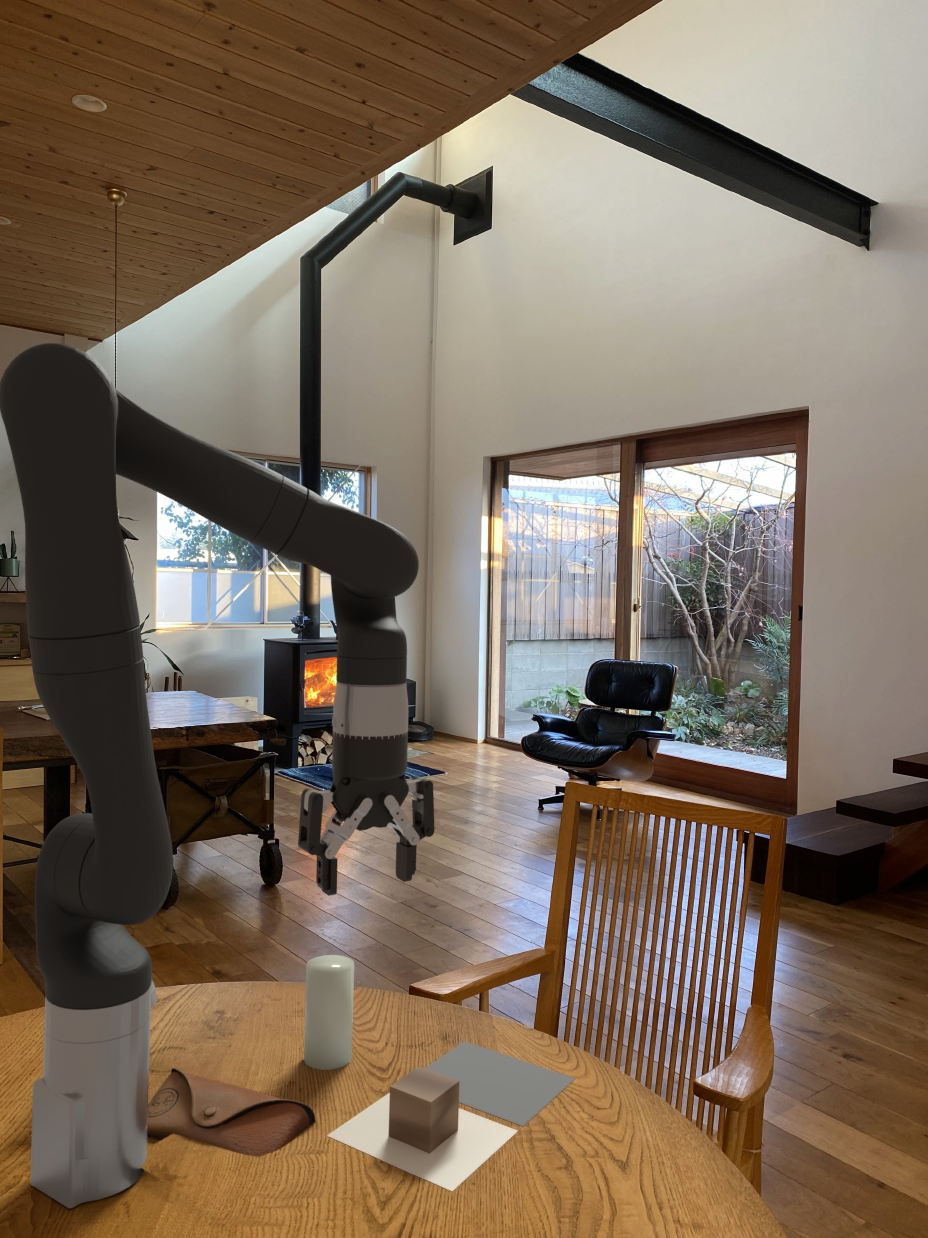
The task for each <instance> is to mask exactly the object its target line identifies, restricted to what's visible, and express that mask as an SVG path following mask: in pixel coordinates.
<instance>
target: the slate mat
mask: <svg viewBox="0 0 928 1238" xmlns="http://www.w3.org/2000/svg"><path fill="white" fill-rule="evenodd" d="M424 1068H425V1069H428V1070H431V1071H434V1072H436V1073H439V1074H442V1075H445V1076H447V1077H450V1078H453V1079H455V1080H458V1081H460V1082H459V1103H460V1104H461V1105H465V1106H467V1107H470V1108H473V1109H475V1110H478V1111H480V1112H484V1113H485V1114H488V1115H491V1116H494V1117H496V1118H498V1119H501V1120H503V1121H507V1122H509V1123H513V1124H514V1125H517V1126H520V1127H521V1128H522V1127H525V1126H526V1125H527V1124H528V1123H529V1122H530V1121H531V1120H532V1119H533V1118H535V1116H537V1115H538V1114H539V1113H540V1112H541V1111H542V1110H543V1109H544V1108H545V1107H546V1106H547V1105H549V1104H550V1103H551V1102H552V1101H553V1100H554V1099H555V1098H556V1097H557V1096H559V1094H560V1093H562V1092H564V1090H565V1089H566V1088H567V1087H568V1086H569V1085H571V1084H572V1082H574V1081H575V1080H576V1078H575V1077H572V1076H569V1075H567V1074H563V1073H561V1072H558V1071H554V1070H551V1069H549V1068H546V1067H542V1066H541V1065H540V1066H539V1065H537V1064H533V1063H532V1062H531V1063H530V1062H528V1061H524V1060H522V1059H518V1058H515V1057H514V1056H513V1057H512V1056H510V1055H506V1054H504V1053H501V1052H497V1051H495V1050H491V1049H489V1048H485V1047H483V1046H481V1045H477V1044H474V1043H471V1042H468V1041H463V1042H461V1043H460V1044H458V1045H457V1046H455V1047H454V1048H452V1049H451V1050H449V1051H448V1052H446V1053H445V1054H444V1055H442V1056H441V1057H439V1058H438V1059H436V1060H435V1061H433V1062H432V1063H430V1064H429V1065H428V1066H426V1067H424Z"/></svg>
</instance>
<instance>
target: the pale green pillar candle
mask: <svg viewBox="0 0 928 1238" xmlns="http://www.w3.org/2000/svg"><path fill="white" fill-rule="evenodd" d="M305 967H306V971H305V973H306V974H305V1006H304V1007H305V1008H304V1009H305V1010H304V1038H303V1040H304V1041H303V1042H304V1043H303V1044H304V1045H303V1047H304V1048H303V1062H304V1064H305V1065H306V1066H308V1067H309V1068H312V1069H314V1070H315V1069H316V1070H319V1071H329V1070H337V1069H341V1068H343V1067H345V1066H347V1065H348V1064H350V1062H351V1061H352V1058H353V1057H352V1055H353V1050H352V1049H353V1048H352V1047H353V1023H354V1021H353V1019H354V1018H353V1017H354V988H355V986H354V984H355V979H354V978H355V961H354V960H353V958H349V957H347V956H346V955H345V956H344V955H339V954H327V955H319V956H316V957H313V958H311V959H309V960H308V961H307V962H306V966H305Z"/></svg>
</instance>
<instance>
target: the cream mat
mask: <svg viewBox="0 0 928 1238" xmlns="http://www.w3.org/2000/svg"><path fill="white" fill-rule="evenodd" d="M389 1102H390V1092H388V1093H387V1094H385V1095H384V1096H383V1097H380V1098H379V1099H377V1101H375V1102H373V1103H372V1104H370V1105H369V1106H368V1107H366V1108H365V1109H364V1110H362V1111H360V1112H359V1113H357V1114H356V1115H355V1116H353V1117H351V1118H350V1119H349V1120H347V1121H346V1122H344V1123H343V1124H342V1125H340V1126H339V1127H337V1128H336V1129H334V1130H333V1131H331V1132H330V1133H329V1134H327V1135H326V1137H328V1138H330V1139H333V1140H335V1141H337V1142H339V1143H341V1144H344V1145H346V1146H349V1147H351V1148H353V1149H356V1150H358V1151H360V1152H362V1153H364V1154H366V1155H369V1156H371V1157H373V1158H376V1159H377V1160H380V1161H383V1162H384V1163H387V1164H388V1165H391V1166H394V1167H396V1168H398V1169H400V1170H402V1171H405V1172H407V1173H409V1174H411V1175H414V1176H415V1177H419V1178H420V1179H423V1180H425V1181H427V1182H429V1183H431V1184H433V1185H436V1186H438V1187H440V1188H442V1189H445V1190H447V1191H449V1192H454V1191H455V1190H456V1189H457V1188H459V1186H461V1184H463V1183H464V1182H465V1181H466V1180H467V1179H468V1178H469V1177H470V1176H471V1175H472V1174H474V1173H475V1172H476V1171H477V1170H478V1169H479V1168H480V1167H481V1166H482V1165H483V1164H484V1163H485V1162H487V1160H488V1159H490V1158H491V1157H492V1156H493V1155H494V1154H495V1153H496V1152H498V1150H500V1149H501V1147H503V1146H504V1145H505V1144H506V1143H507V1142H508V1141H510V1139H511V1138H513V1137H514V1136H515V1135H516V1134H517V1133H519V1131H518V1129H514V1128H512V1127H509V1126H506V1125H503V1123H502V1124H501V1123H499V1122H497V1121H494V1120H490V1119H488V1118H486V1117H483V1116H482V1115H481V1116H480V1115H478V1114H476V1113H473V1112H471V1111H467V1110H465V1109H462V1108H461V1107H459V1115H458V1131H456V1132H455V1133H454V1134H453V1135H451V1136H450V1137H449V1138H448V1139H447V1140H445V1141H444V1142H443V1143H442V1144H441V1145H439V1146H438V1147H437V1148H436V1149H435V1150H433V1151H432V1152H431V1153H430V1154H429V1153H427V1152H424V1151H422V1150H420V1149H417V1148H415V1147H413V1146H410V1145H408V1144H406V1143H403V1142H401V1141H398V1140H396V1139H394V1138H391V1137H389V1136H388V1135H389Z"/></svg>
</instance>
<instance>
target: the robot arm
mask: <svg viewBox="0 0 928 1238" xmlns="http://www.w3.org/2000/svg"><path fill="white" fill-rule="evenodd" d="M0 415H1V419H2V423H3V424H4V429H5V432H6V435H7V436H6V437H7V440H8V444H9V448H10V452H11V456H12V460H13V465H14V469H15V473H16V474H15V475H16V479H17V482H18V483H17V485H18V487H19V493H20V498H21V504H22V510H23V518H24V519H23V520H24V533H25V534H24V536H25V541H24V545H25V546H24V548H25V549H24V584H25V586H24V587H25V589H24V590H25V593H24V594H25V607H26V623H27V624H26V625H27V634H28V643H29V653H30V660H31V668H32V676H33V680H34V685H35V689H36V693H37V695H38V697H39V700H40V702H41V704H42V707H43V708H44V710H45V712H46V714H47V715H48V717H49V719H50V721H51V723H52V725H53V726H54V728H55V729H56V731H57V732H58V734H59V736H60V738H61V739H62V741H63V742H64V744H65V746H66V748H67V749H68V750H69V752H70V754H71V755H72V757H73V758H74V760H75V762H76V764H77V766H78V768H79V770H80V772H81V775H82V776H83V778H84V783H85V785H86V789H87V792H88V796H89V800H90V801H89V802H90V807H91V808H90V809H91V813H89V812H87V813H86V812H85V813H83V812H81V813H75V814H72V815H70V816H68V817H65V818H64V819H62V820H60V821H59V822H58V823H57V824H56V825H55V826H54V827H53V828H52V829H51V830H50V831H49V833H48V834H47V836H46V838H45V839H44V841H43V844H42V846H41V848H40V850H39V854H38V858H37V862H36V867H35V869H36V870H35V878H34V879H35V880H34V913H35V914H34V915H35V917H34V918H35V920H34V921H35V946H36V947H35V949H36V961H37V964H38V968H39V969H40V972H41V975H42V977H43V979H44V983H45V985H44V987H45V989H44V993H45V994H44V995H45V997H44V998H45V999H44V1029H43V1030H44V1032H43V1035H44V1037H43V1065H42V1066H43V1068H42V1077H40V1078H38V1079H36V1080H35V1081H34V1082H33V1084H32V1103H31V1105H32V1107H31V1108H32V1109H31V1115H32V1116H31V1145H30V1146H31V1148H30V1150H31V1151H30V1183H29V1185H31V1186H32V1187H34V1188H36V1190H38V1191H41V1192H42V1193H44V1194H45V1195H47V1196H48V1197H50V1198H52V1199H54V1201H56V1202H58V1203H60V1204H62V1206H64V1207H66V1208H68V1209H73V1208H75V1207H76V1206H78V1205H80V1204H82V1203H87V1202H94V1201H98V1200H102V1199H105V1198H108V1197H109V1198H110V1197H111V1196H114V1195H116V1194H118V1193H121V1192H122V1191H124V1190H126V1189H127V1188H130V1187H131V1186H133V1184H135V1183H136V1182H137V1181H138V1180H139V1178H141V1177H142V1175H143V1174H144V1172H145V1169H144V1168H143V1166H144V1165H145V1163H146V1160H147V1156H148V1155H147V1154H148V1153H147V1152H148V1137H147V1128H148V1104H149V1088H150V1087H149V1084H150V1083H149V1081H150V1079H149V1078H150V1050H151V1049H150V1045H151V1044H150V1043H151V1012H152V1010H151V1009H152V1008H151V981H153V977H152V973H153V965H152V957H151V955H150V953H149V951H148V950H147V949H146V948H145V947H144V946H143V945H142V944H141V943H139V942H138V941H137V940H136V939H135V938H134V937H133V936H132V935H131V934H130V933H129V932H128V930H127V929H126V927H125V926H134V925H139V924H142V923H145V922H147V921H149V920H150V919H152V918H153V917H154V916H155V915H156V914H157V913H158V911H160V909H161V908H162V906H163V905H164V903H165V901H166V899H167V898H168V894H169V892H170V888H171V885H172V880H173V879H172V878H173V872H174V871H173V870H174V853H173V845H172V839H171V838H172V837H171V832H170V827H169V821H168V818H167V814H166V813H167V812H166V809H165V805H164V804H165V803H164V799H163V794H162V791H161V790H162V789H161V784H160V780H159V777H158V770H157V765H156V760H155V753H154V747H153V745H154V744H153V738H152V730H151V724H150V723H151V722H150V716H149V708H148V700H147V691H146V678H145V660H144V651H143V639H142V632H141V631H142V630H141V619H140V613H139V608H138V601H137V596H136V589H135V585H134V580H133V575H132V569H131V566H130V565H131V564H130V561H129V557H128V555H127V554H128V553H127V549H126V545H125V541H124V538H123V534H122V528H121V524H120V519H119V512H118V499H117V477H116V476H118V477H119V476H120V477H122V478H125V479H128V480H130V481H132V482H135V483H136V484H139V485H141V486H144V487H145V488H147V489H151V490H152V491H154V492H156V493H159V494H161V495H162V496H165V497H166V498H168V499H170V500H172V501H174V502H176V504H177V503H178V504H179V505H181V506H183V507H185V508H187V509H189V510H191V511H192V512H193V513H195V514H197V515H199V516H201V517H202V518H205V519H206V520H207V521H210V522H212V524H215V525H217V526H218V527H220V528H223V529H224V530H225V531H226V530H227V531H228V532H230V533H231V534H233V535H235V536H238V537H240V538H241V539H243V540H245V541H247V542H250V543H252V544H254V545H256V546H258V547H260V548H262V549H264V550H266V551H268V552H270V553H272V554H275V555H277V556H279V557H281V558H283V559H286V560H288V561H291V562H294V563H300V564H304V565H308V566H311V567H313V568H316V569H318V570H319V571H320V572H321V571H322V572H323V573H325V574H328V575H329V576H330V587H331V597H332V605H333V612H334V620H335V621H334V622H335V627H336V630H337V631H336V632H337V648H336V675H335V676H336V678H335V679H336V684H335V685H336V686H335V691H334V696H333V697H334V699H333V708H332V710H333V712H332V719H331V723H332V750H331V751H332V754H331V755H332V756H331V757H332V758H331V759H332V761H331V763H332V764H331V765H332V766H331V767H332V768H331V770H332V778H333V779H332V784H331V786H330V788H329V789H328V790H314V789H311V788H304V789H303V790H302V792H301V798H300V808H299V809H300V810H299V811H300V812H299V824H298V839H297V842H298V843H297V847H299V848H300V849H301V850H302V851H305V853H307V854H309V855H311V856H316V868H315V869H316V870H315V871H316V874H315V875H316V881H315V883H316V885H317V887H318V888H320V889H321V891H322V892H323V893H324V894H325V895H327V896H328V897H329V896H334V895H337V893H338V857H336V855H337V854H338V852H339V851H340V849H341V848H342V846H343V845H344V843H345V842H346V841H348V840H350V839H351V837H352V836H353V834H354V832H355V831H356V830H358V831H359V832H361V831H367V830H369V829H371V828H374V827H375V828H387V827H388V826H389V827H391V829H392V831H393V832H394V834H396V837H398V838H399V841H396V847H395V849H396V850H395V877H396V878H397V879H398V880H400V881H402V882H403V883H405V882H406V883H407V882H411V881H412V879H413V876H414V875H415V873H416V870H417V846H418V844H419V843H420V841H421V840H422V839H424V838H427V837H428V838H431V837H433V836H434V834H435V806H434V805H435V803H434V801H435V800H434V799H435V797H434V782H433V781H432V780H429V779H428V778H424V777H421V776H418V775H416V776H414V777H413V778H412V779H411V780H406V772H407V770H408V743H409V742H408V741H409V736H408V735H409V699H408V697H409V696H408V689H407V687H408V686H407V677H408V676H407V672H408V671H407V670H408V666H407V665H408V643H407V641H408V640H407V635H406V632H405V630H403V628H402V627H401V626H400V624H399V623H398V619H397V607H396V606H397V605H396V597H397V596H400V595H402V594H404V593H405V592H406V591H407V590H409V589H410V588H411V587H412V585H413V584H414V582H415V581H416V580H417V576H418V574H419V567H420V564H419V563H420V562H419V557H418V553H417V550H416V548H415V546H414V545H413V543H412V542H411V541H410V539H409V538H408V537H407V536H406V535H405V534H404V533H402V532H401V531H399V530H398V529H396V528H395V527H393V526H392V525H389V524H387V523H386V522H382V521H380V520H379V519H376V518H373V517H371V516H369V515H367V514H364V513H361V512H359V511H356V510H354V509H351V508H348V507H346V506H344V505H340V504H337V503H334V502H332V501H330V500H329V499H325V498H324V497H323V496H321V495H319V494H317V493H316V492H315V491H313V490H311V489H309V488H307V487H305V486H304V485H302V484H300V483H298V482H295V481H294V480H292V479H290V478H288V477H286V476H284V475H282V474H280V473H279V472H277V471H275V470H272V469H270V468H269V467H267V466H265V465H262V464H260V463H258V462H256V461H254V460H252V459H249V458H248V457H244V456H243V455H240V454H237V453H235V452H233V451H231V450H230V451H229V450H227V449H225V448H222V447H221V446H218V445H215V444H213V443H211V442H207V441H206V440H204V439H201V438H199V437H196V436H194V435H192V434H191V433H190V434H189V433H188V432H186V431H184V430H182V429H180V428H178V427H175V426H173V424H170V423H169V422H167V421H165V420H163V419H161V418H159V417H158V416H156V415H155V414H153V413H151V412H150V411H148V410H146V409H145V408H144V407H142V406H141V405H139V404H138V403H137V402H135V401H134V400H132V399H131V398H129V397H128V396H127V395H125V394H124V393H123V392H121V391H120V390H118V388H116V387H115V385H114V383H113V380H112V379H111V377H110V375H109V373H108V372H107V371H106V369H105V368H104V367H103V366H102V365H101V364H100V363H99V361H97V360H96V359H95V358H94V357H92V356H91V355H89V354H88V353H86V352H85V351H82V350H81V349H78V348H77V347H74V346H71V345H68V344H64V343H57V342H48V343H47V342H46V343H41V344H37V345H33V346H30V347H29V348H26V349H24V350H23V351H22V352H20V353H19V354H18V355H17V356H15V357H14V359H12V360H11V362H10V363H9V364H8V365H7V366H6V368H5V370H4V372H3V373H2V377H1V378H0ZM408 796H409V799H411V806H412V807H411V809H412V811H411V812H412V813H411V814H412V817H411V818H412V821H411V820H410V819H409V818H408V816H407V815H406V813H405V812H404V810H403V808H401V807H402V805H403V803H404V802H405V800H406V798H407V797H408ZM329 804H331V805H332V807H333V808H334V811H333V813H332V814H331V815H330V817H329V818H328V820H327V822H326V823H325V825H324V828H325V829H324V831H323V832H322V825H323V824H322V821H323V820H322V819H323V814H324V813H326V811H327V808H328V806H329Z"/></svg>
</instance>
